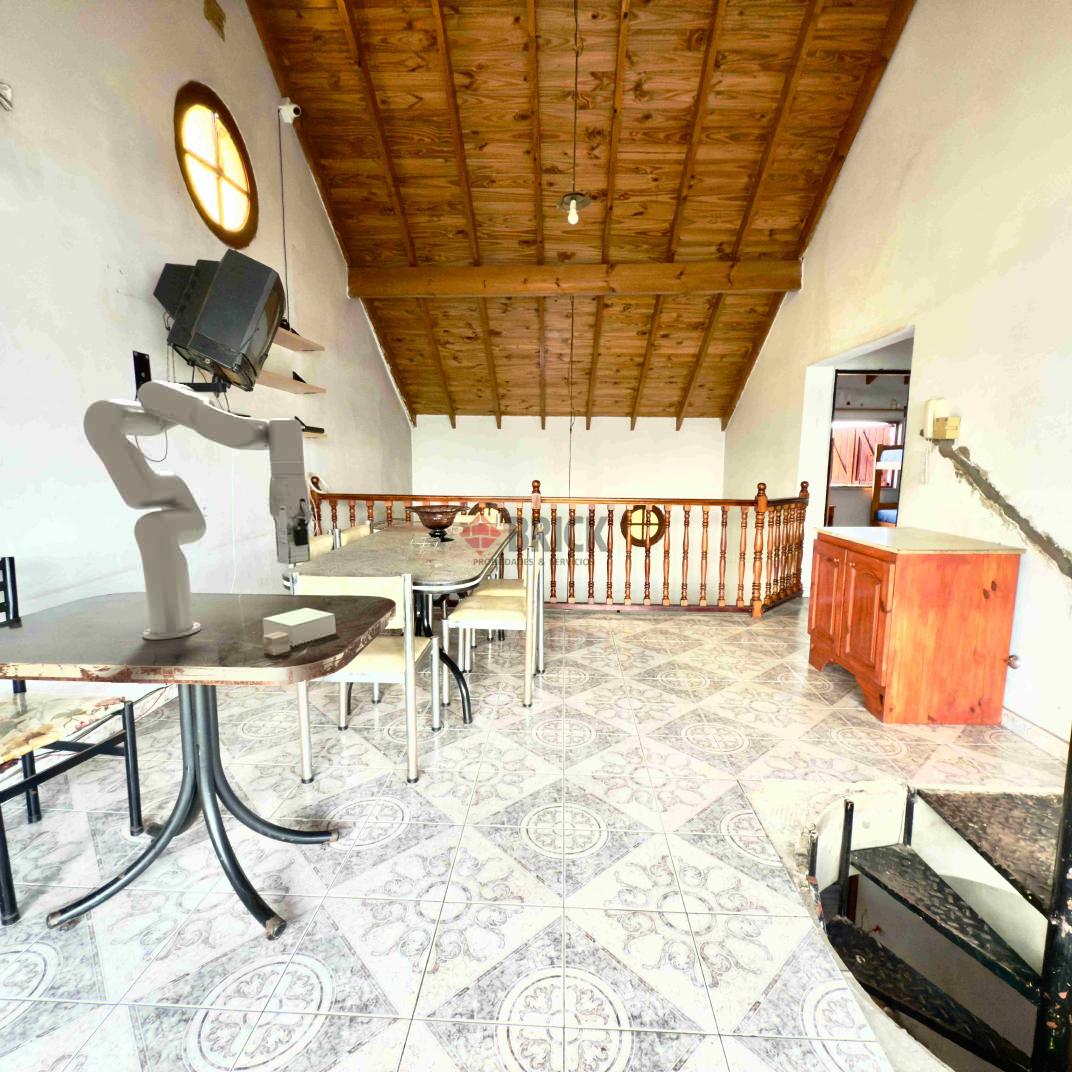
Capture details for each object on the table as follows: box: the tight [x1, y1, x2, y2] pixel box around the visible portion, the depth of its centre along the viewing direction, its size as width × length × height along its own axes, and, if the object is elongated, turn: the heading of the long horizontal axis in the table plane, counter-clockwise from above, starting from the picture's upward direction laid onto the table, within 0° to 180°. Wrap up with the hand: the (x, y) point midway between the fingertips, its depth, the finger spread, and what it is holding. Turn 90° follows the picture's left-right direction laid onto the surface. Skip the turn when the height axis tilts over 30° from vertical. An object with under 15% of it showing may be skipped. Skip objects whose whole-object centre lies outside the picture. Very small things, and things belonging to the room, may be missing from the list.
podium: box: [262, 607, 337, 647], centre depth 141 cm, size 12×12×5 cm
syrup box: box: [274, 505, 311, 565], centre depth 138 cm, size 6×6×14 cm
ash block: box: [262, 632, 291, 656], centre depth 130 cm, size 4×4×4 cm
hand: (293, 543), depth 139 cm, fingers closed on syrup box, 6 cm apart
